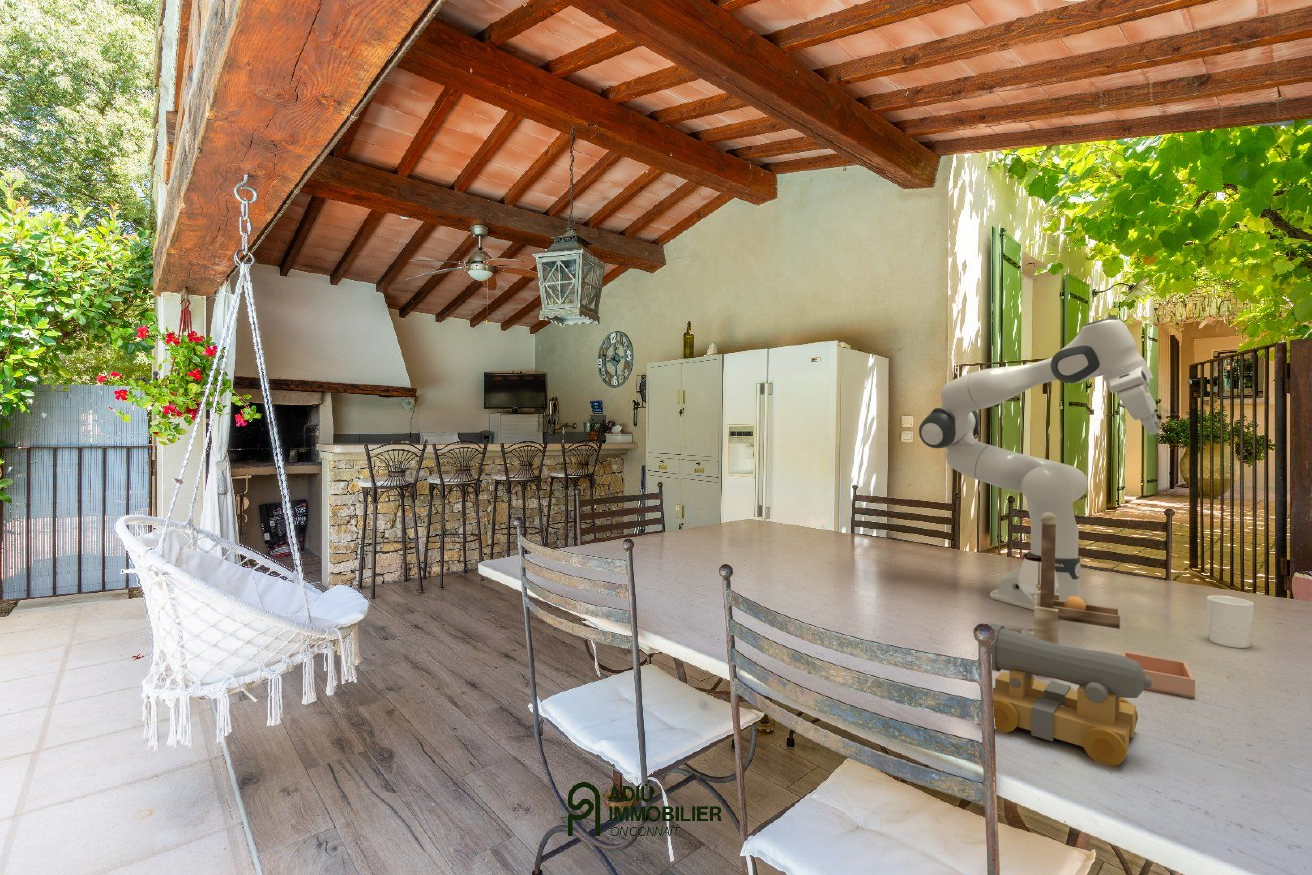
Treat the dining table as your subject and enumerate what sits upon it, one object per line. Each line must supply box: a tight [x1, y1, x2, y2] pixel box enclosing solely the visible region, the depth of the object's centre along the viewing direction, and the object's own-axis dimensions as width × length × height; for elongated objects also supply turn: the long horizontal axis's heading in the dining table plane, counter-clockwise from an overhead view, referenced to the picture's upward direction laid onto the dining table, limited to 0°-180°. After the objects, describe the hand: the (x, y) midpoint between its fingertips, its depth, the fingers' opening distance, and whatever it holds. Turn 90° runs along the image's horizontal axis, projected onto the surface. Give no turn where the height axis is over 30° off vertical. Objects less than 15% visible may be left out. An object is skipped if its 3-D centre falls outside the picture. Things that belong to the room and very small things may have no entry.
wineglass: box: [1018, 557, 1058, 638], centre depth 145 cm, size 8×8×18 cm
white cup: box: [1206, 595, 1255, 649], centre depth 141 cm, size 8×8×10 cm
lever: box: [1040, 512, 1121, 630], centre depth 125 cm, size 14×12×22 cm
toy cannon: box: [988, 623, 1152, 767], centre depth 100 cm, size 16×22×15 cm
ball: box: [1065, 596, 1086, 611], centre depth 126 cm, size 4×4×4 cm
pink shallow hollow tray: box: [1120, 650, 1196, 700], centre depth 119 cm, size 10×10×4 cm
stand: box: [1033, 591, 1060, 644], centre depth 129 cm, size 9×17×13 cm, turn 146°
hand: (1155, 431), depth 147 cm, fingers open, 8 cm apart
